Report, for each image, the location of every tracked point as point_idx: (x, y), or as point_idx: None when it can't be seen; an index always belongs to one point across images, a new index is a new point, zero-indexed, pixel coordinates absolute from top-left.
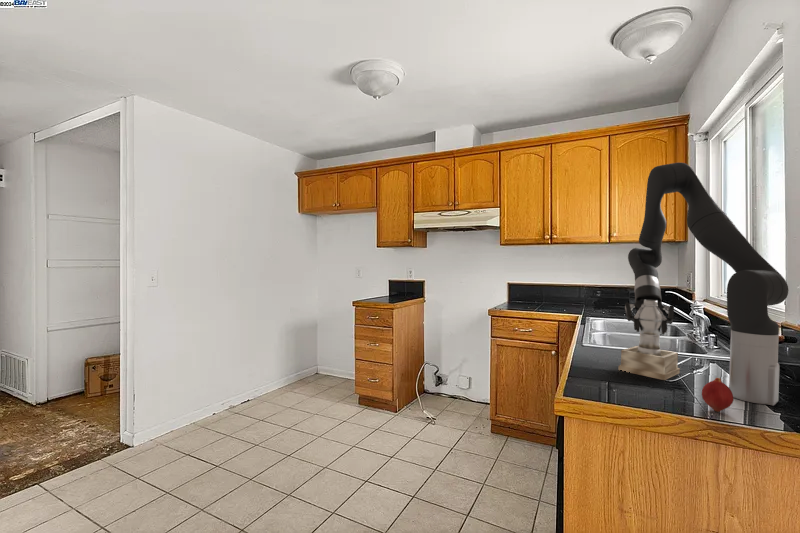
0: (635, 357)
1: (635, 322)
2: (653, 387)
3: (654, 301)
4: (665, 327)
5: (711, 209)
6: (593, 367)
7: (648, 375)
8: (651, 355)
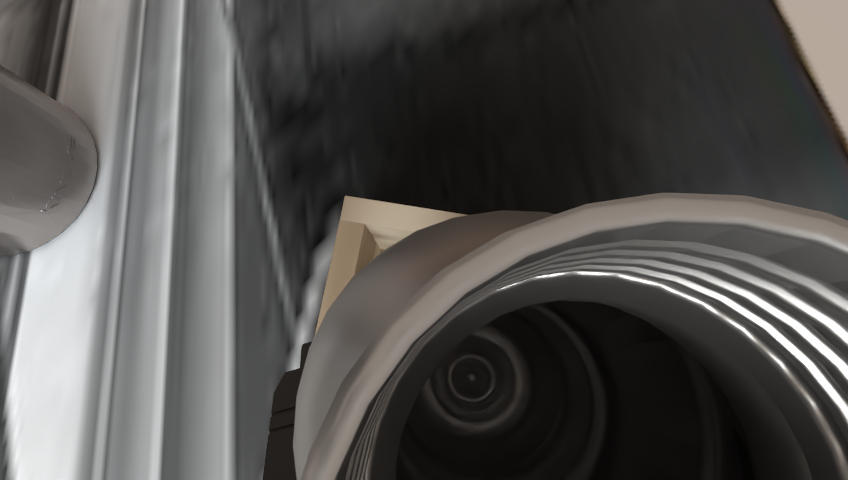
0: None
1: None
2: (387, 45)
3: (422, 307)
4: (293, 400)
5: None
6: None
7: None
8: (428, 211)
